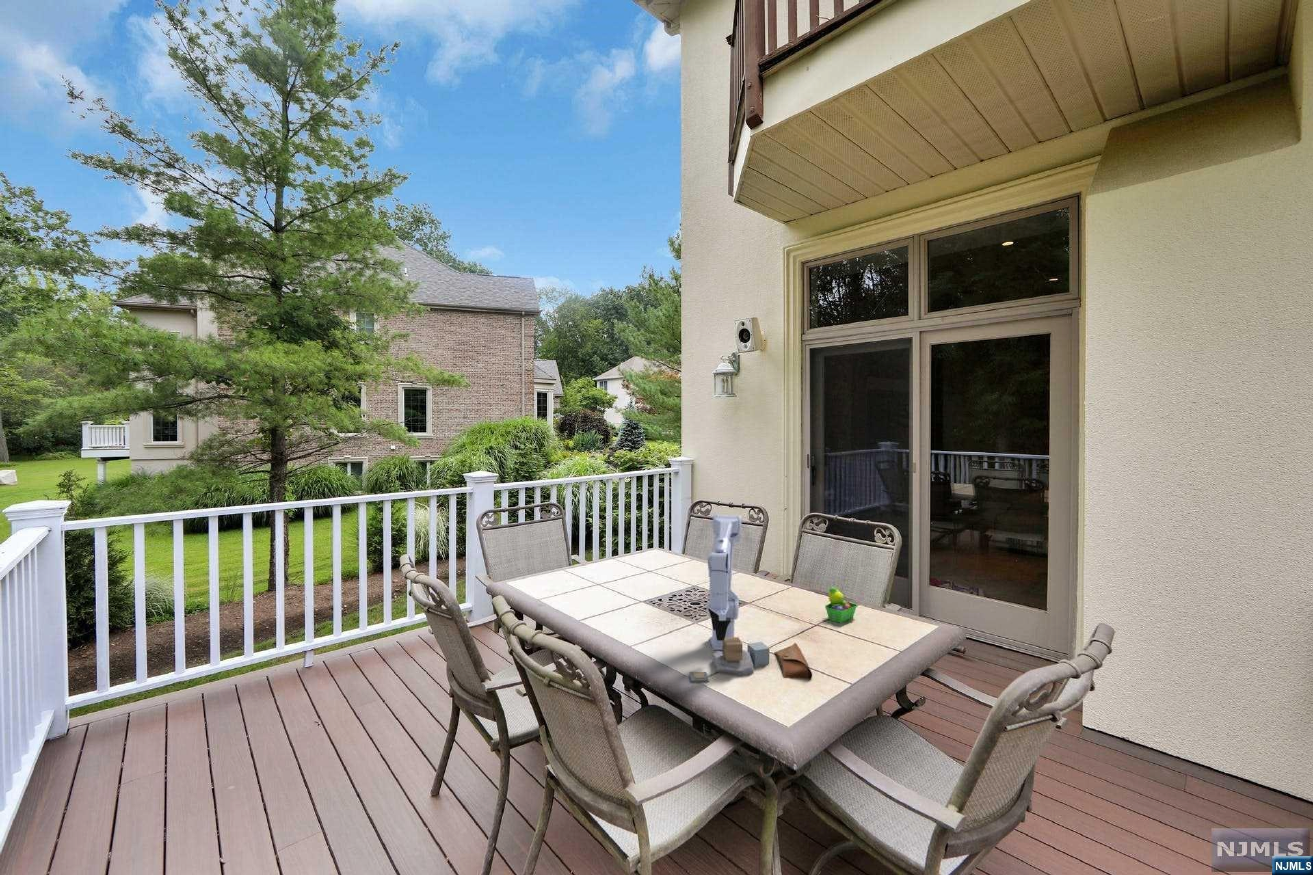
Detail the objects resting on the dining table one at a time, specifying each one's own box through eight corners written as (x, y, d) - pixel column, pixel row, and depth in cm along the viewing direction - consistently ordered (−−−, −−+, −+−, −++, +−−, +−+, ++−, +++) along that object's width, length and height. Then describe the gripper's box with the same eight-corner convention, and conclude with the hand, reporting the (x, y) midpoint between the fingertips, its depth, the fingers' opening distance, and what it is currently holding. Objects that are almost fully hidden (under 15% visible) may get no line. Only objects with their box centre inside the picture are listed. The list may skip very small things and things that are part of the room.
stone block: (756, 680, 156) (748, 659, 165) (756, 666, 155) (748, 645, 164) (717, 683, 155) (711, 661, 165) (717, 669, 154) (711, 648, 164)
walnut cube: (722, 653, 161) (722, 637, 161) (738, 652, 162) (738, 636, 162) (726, 660, 156) (726, 644, 156) (742, 660, 157) (742, 643, 157)
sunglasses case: (772, 651, 171) (782, 634, 171) (790, 662, 171) (801, 645, 171) (783, 678, 153) (795, 659, 153) (804, 690, 153) (816, 671, 153)
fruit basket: (841, 625, 194) (842, 594, 193) (821, 618, 200) (821, 589, 200) (858, 617, 201) (858, 588, 200) (837, 611, 208) (837, 583, 207)
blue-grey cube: (747, 659, 166) (747, 643, 165) (761, 657, 167) (761, 641, 167) (754, 666, 161) (755, 650, 161) (769, 663, 162) (769, 648, 162)
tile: (689, 673, 156) (689, 671, 156) (706, 673, 156) (706, 671, 156) (691, 682, 151) (691, 679, 151) (708, 681, 151) (708, 679, 151)
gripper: (702, 584, 168) (702, 625, 168) (709, 599, 153) (708, 645, 154) (724, 583, 168) (724, 625, 168) (733, 599, 154) (732, 644, 154)
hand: (718, 634), depth 161 cm, fingers open, 7 cm apart
